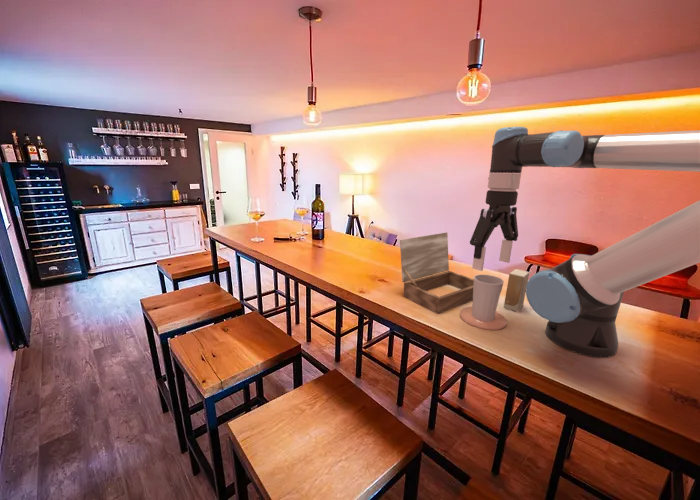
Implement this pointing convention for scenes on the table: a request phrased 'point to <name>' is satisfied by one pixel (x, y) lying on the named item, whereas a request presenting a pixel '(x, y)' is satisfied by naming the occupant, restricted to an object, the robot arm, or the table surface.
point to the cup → (486, 296)
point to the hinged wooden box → (432, 273)
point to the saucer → (496, 324)
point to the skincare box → (516, 290)
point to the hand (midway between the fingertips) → (491, 265)
